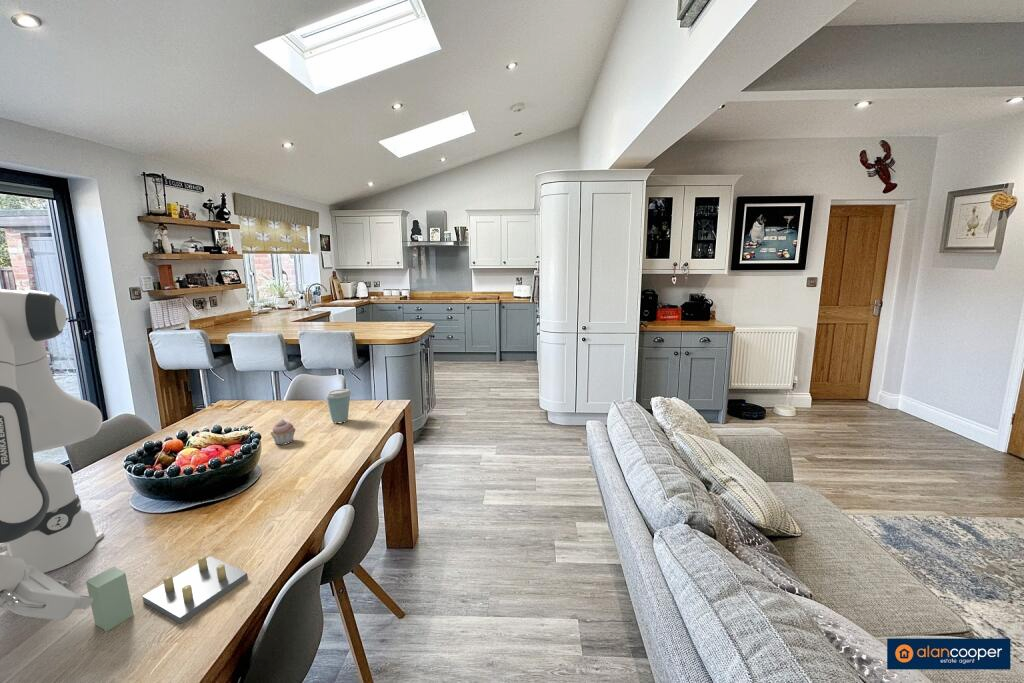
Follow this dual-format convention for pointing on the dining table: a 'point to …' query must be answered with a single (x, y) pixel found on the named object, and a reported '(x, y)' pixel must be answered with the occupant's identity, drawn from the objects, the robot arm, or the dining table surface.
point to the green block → (110, 598)
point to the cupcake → (283, 432)
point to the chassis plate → (194, 588)
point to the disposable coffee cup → (338, 404)
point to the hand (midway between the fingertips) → (77, 595)
